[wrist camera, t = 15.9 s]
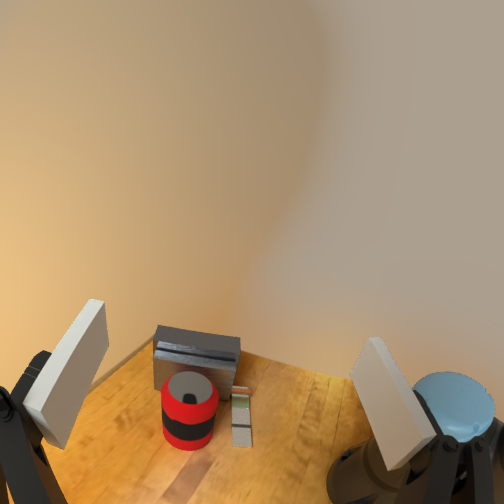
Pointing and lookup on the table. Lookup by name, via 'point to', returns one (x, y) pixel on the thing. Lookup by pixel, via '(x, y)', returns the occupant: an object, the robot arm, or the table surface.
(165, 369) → the grey block
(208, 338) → the gauge bed
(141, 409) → the table surface
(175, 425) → the soda can
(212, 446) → the table surface
